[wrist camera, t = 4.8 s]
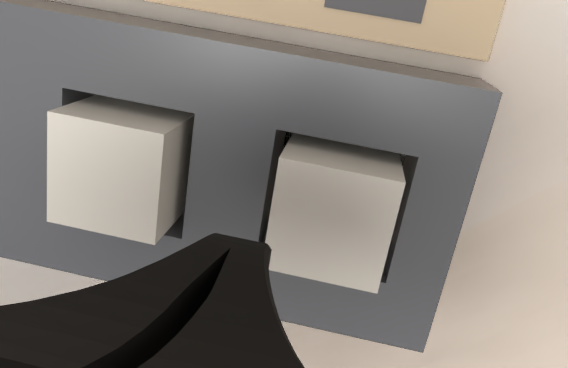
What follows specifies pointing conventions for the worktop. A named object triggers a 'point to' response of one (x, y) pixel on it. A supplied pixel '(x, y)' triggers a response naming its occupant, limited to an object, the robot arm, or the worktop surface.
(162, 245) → the button board
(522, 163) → the worktop surface
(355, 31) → the pattern card
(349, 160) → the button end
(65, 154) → the button middle
